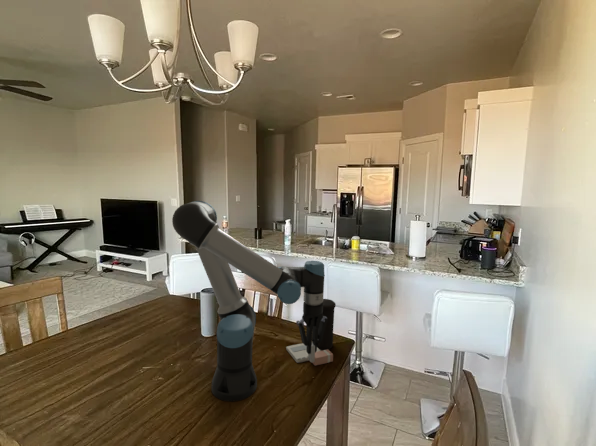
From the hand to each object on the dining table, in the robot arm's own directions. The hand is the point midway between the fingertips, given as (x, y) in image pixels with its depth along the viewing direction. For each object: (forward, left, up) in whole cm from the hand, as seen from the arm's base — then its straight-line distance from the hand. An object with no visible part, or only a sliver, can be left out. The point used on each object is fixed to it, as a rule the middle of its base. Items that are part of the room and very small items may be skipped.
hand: (311, 360), depth 124 cm
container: (+12, +11, -2) cm, 16 cm away
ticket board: (+1, +8, -2) cm, 8 cm away
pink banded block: (+5, 0, -2) cm, 5 cm away
